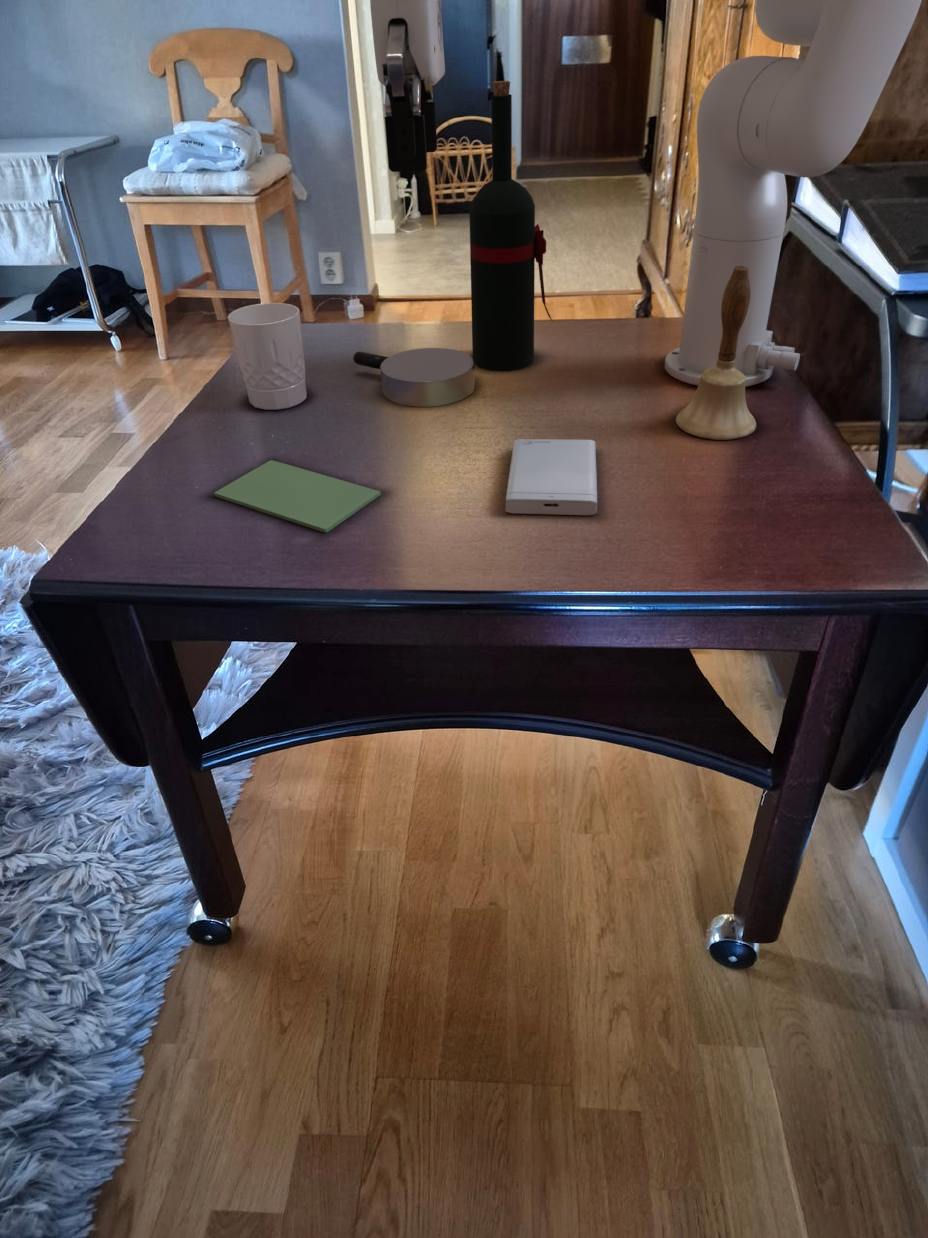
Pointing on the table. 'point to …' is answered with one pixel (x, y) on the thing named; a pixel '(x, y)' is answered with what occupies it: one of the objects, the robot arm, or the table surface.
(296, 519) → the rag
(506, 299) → the wine bottle
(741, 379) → the hand bell
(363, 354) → the pan
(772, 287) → the robot arm
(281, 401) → the white cup
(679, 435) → the table surface
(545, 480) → the hard drive
